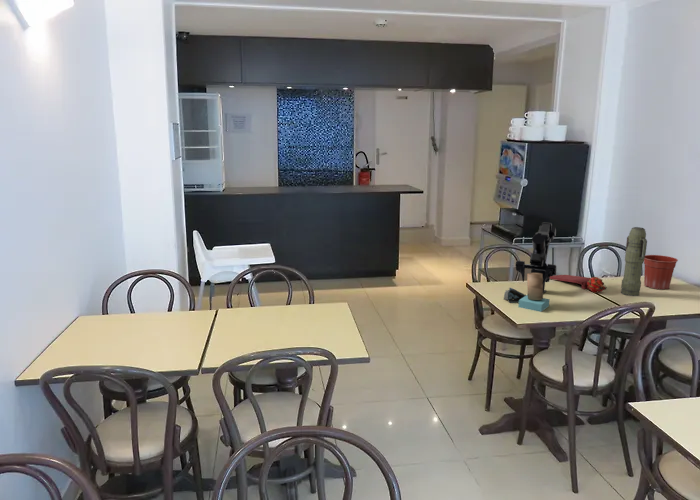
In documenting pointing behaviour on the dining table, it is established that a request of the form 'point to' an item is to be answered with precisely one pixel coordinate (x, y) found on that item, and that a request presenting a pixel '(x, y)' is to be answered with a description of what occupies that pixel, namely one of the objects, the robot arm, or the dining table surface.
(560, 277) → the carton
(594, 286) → the dragon fruit
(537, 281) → the brown vase
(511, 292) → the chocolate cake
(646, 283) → the flower pot
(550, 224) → the robot arm
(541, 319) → the dining table surface
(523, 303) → the base block
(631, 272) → the thermos
